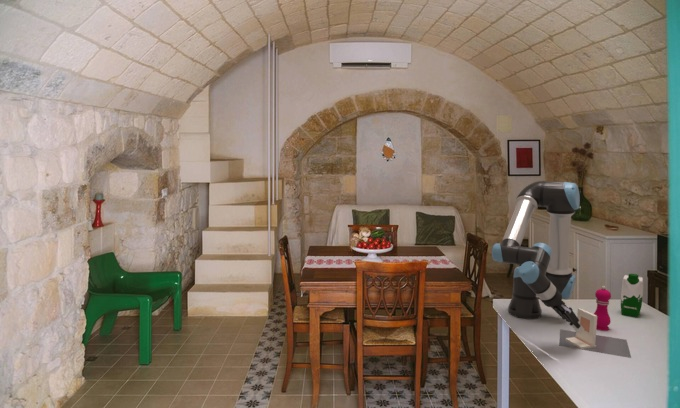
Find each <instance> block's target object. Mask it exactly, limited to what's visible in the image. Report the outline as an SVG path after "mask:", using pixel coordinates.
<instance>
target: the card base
mask: <svg viewBox="0 0 680 408" xmlns="http://www.w3.org/2000/svg"><path fill="white" fill-rule="evenodd" d="M565 340H566V341H568V342H570V343H571V344H573V345H575V346H577V347H578V348H580V349H579V350H581V349H585V348H594V347H596V345H591V344H589V343H587V342H585V341H583V340H581V339H580V338H578V337H571V338H565Z"/></svg>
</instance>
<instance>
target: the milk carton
mask: <svg viewBox="0 0 680 408" xmlns="http://www.w3.org/2000/svg"><path fill="white" fill-rule="evenodd" d="M621 283H622V284H621V290H620V291H621V292H620V293H621V294H620V310H621V312H620V313H621V316H627V317H632V318H636V319H638V318H639V317H640V313H641V310H642V304H643V295H644V286H645V285H644V278H643V277H642V276H639V274H638V273H637V274H636V273H629V274H628V275H627V274H625V275H624V276H623V278H622V281H621Z"/></svg>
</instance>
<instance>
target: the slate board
mask: <svg viewBox="0 0 680 408" xmlns="http://www.w3.org/2000/svg"><path fill="white" fill-rule="evenodd" d="M571 337H576V331H575V330H566V329H562V328H561V329H559V344H558V345H559V347H565V348H571V349H576V350H582V351H588V352H593V353H599V354H605V355H612V356H617V357H623V358H629V359H632V355H631V351H630V348H629V344H628V340H627V339H624V338H617V337H612V336H605V335H599V334H596V340H595V345H596V347H594V348H585V349H580V348H578V347H577V346H575V345H573V344H571V343H570V342H568V341H566V340H565V338H571Z"/></svg>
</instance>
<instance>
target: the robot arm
mask: <svg viewBox="0 0 680 408" xmlns="http://www.w3.org/2000/svg"><path fill="white" fill-rule="evenodd" d="M580 199H581V197H580V189H579V187H578V185H577V183H575V182H568V181H545V180H537V181H534V182H532V183H530V184H528V185H527V186H525V187H523V189H522V190H521V191H520V192H518V194H517V196H516V199H515V201H514V202H515V208H514V211H513V213H512V216H511V218H510V221H509V223H508V226H507V228H506V230H505V233H504V235H503V237H502V240H501V242H499V243H497V242H496V243H494V244H493V246H492V249H491V258H492V260H493V261H495V262H498V263H502V264H503V263H504V264H511V265H518V266H517V267H515V268H514V270H513V276H512V277H513V280H512V282H513V283H512V295H511V296H512V297H511V299H510V302H509V304H508V306H507V313H508V314H509V315H511V316H513V317H517V318H520V319H528V320H534V319H539V318H541V317H542V307H541V303H540V301H541V302H542V304H543V305H545V306H546V307H548V308H551V309H552V310H553V311H555V313H556V314H558V316H560V317H561V319H562V320H564V321H566V323H568V324H569V326H570V327H572V328H573V330H574V331H575V332H577V333H579V334H581V333H582V332H583V331H584V330H585V329H584V328H583V327H582V326H581V325H580V323H579V322H578V321H579V319H578V318H577V315H576V313H575V312H574V311H573V309H572V307H568V306H567V304H566V303H565V301H563V300H569V299H570V298H571V297H572V295H573V292H574V289H575V286H576V284H575V283H576V281H577V280H576V277H577V276H576V275H575V274H573V270H572V268H570V267H569V266H570V265H569V263H570V248H571V247H570V244H571V224H572V223H571V221H572V216H573V215H574V214H575V213H576V211H577V210H579V208H580V203H581V201H580ZM538 207H540V208H541V207H542V208H546V213H547V214H549V229H548V230H549V232H548V234H549V235H548V244H547V243H545V242H544V243H543V242H537V243H534V244H533V245H532V247H528V246H523V245H522V243H523V240H524V237H525V234H526V232H527V229H528V227H529V223H530V220H531V219H532V216H533V213H534V212H535V211H536V210H537V209H538ZM521 245H522V246H521ZM539 299H540V300H539Z"/></svg>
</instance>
